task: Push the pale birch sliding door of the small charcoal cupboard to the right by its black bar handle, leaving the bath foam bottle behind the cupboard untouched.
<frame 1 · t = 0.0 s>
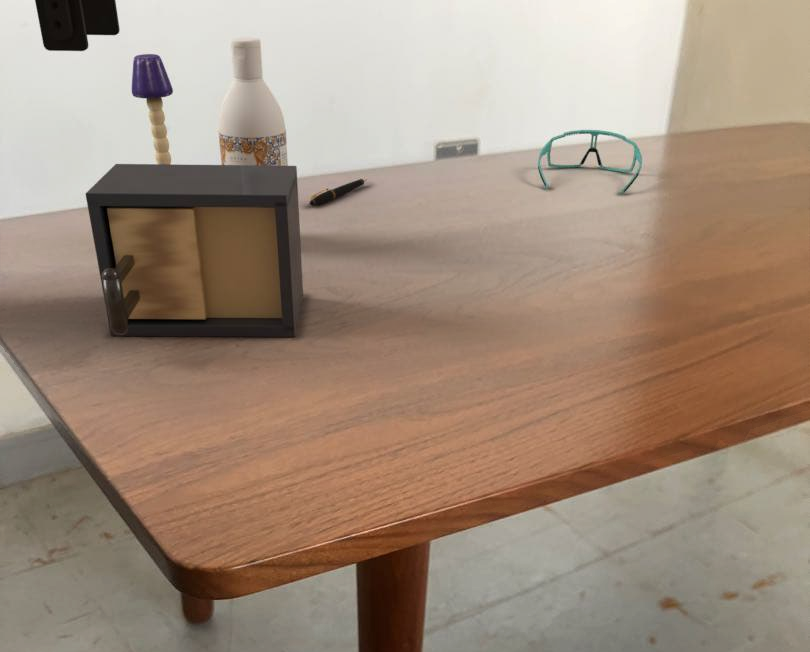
hand: (84, 41, 73), 22 cm above the table, tool pointing down, fingers open, 9 cm apart
cupboard: (211, 315, 84), on the table
sliding door: (150, 277, 75), point 6 cm above the table, slide at 0.0 cm
sunglasses: (587, 180, 128), on the table
toy lamp: (168, 208, 113), on the table
fountain pen: (340, 197, 119), on the table
bath foam: (260, 243, 102), on the table
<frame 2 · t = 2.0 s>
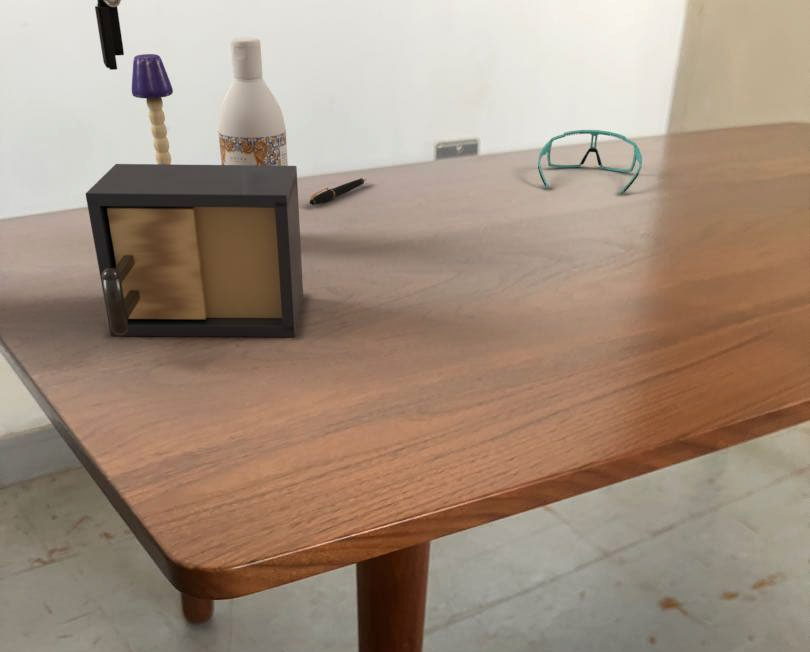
hand: (43, 69, 67), 21 cm above the table, tool pointing down, fingers open, 9 cm apart
nothing on the table moved.
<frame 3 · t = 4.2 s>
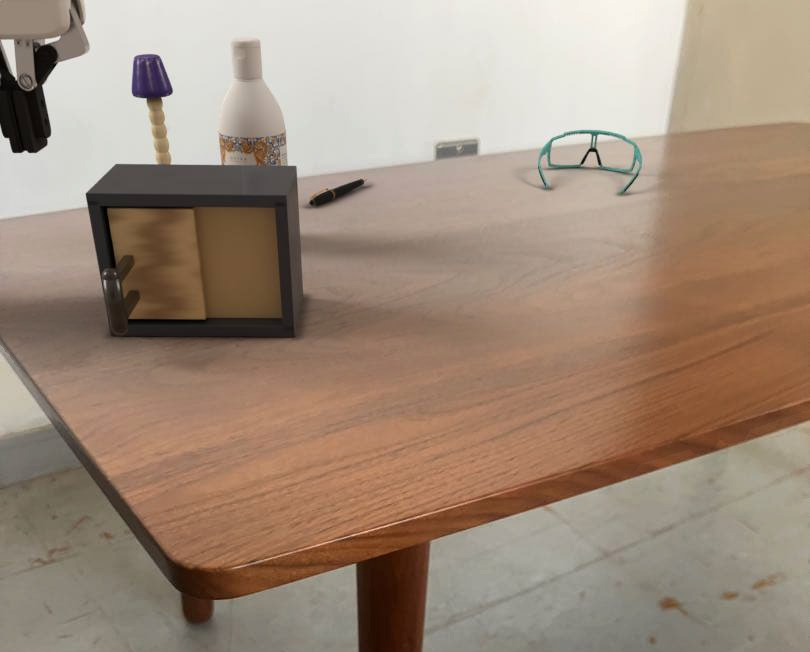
hand: (30, 148, 66), 16 cm above the table, tool pointing down, fingers closed
nothing on the table moved.
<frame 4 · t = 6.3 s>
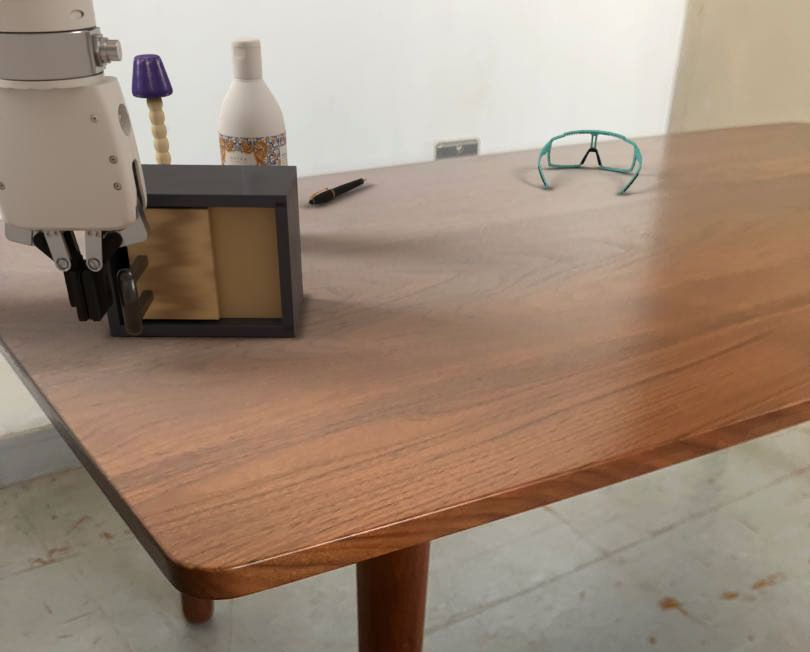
hand: (94, 314, 73), 4 cm above the table, tool pointing down, fingers closed
sliding door: (164, 277, 75), point 6 cm above the table, slide at 1.2 cm, touching gripper
everything else where it was.
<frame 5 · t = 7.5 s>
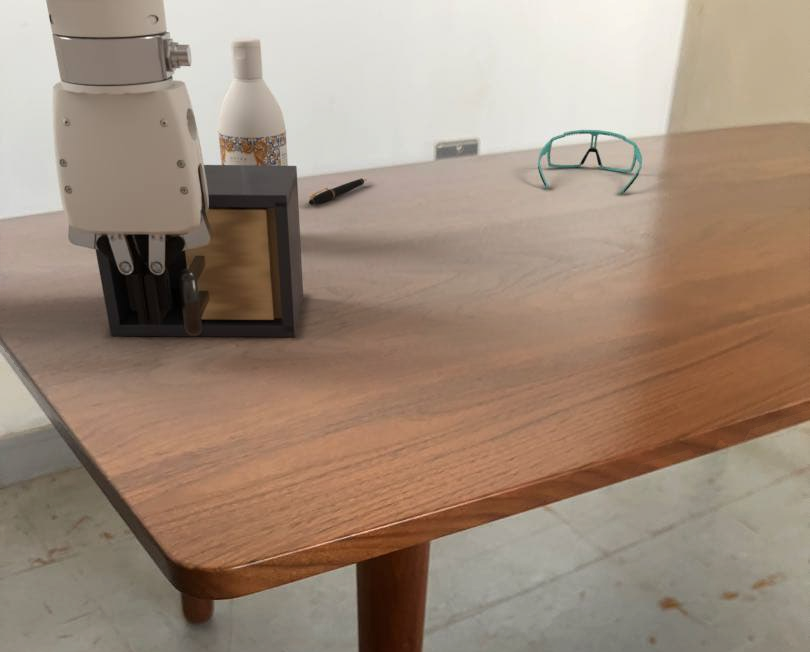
hand: (153, 317, 74), 4 cm above the table, tool pointing down, fingers closed
sliding door: (223, 277, 75), point 6 cm above the table, slide at 5.9 cm, touching gripper
everything else where it was.
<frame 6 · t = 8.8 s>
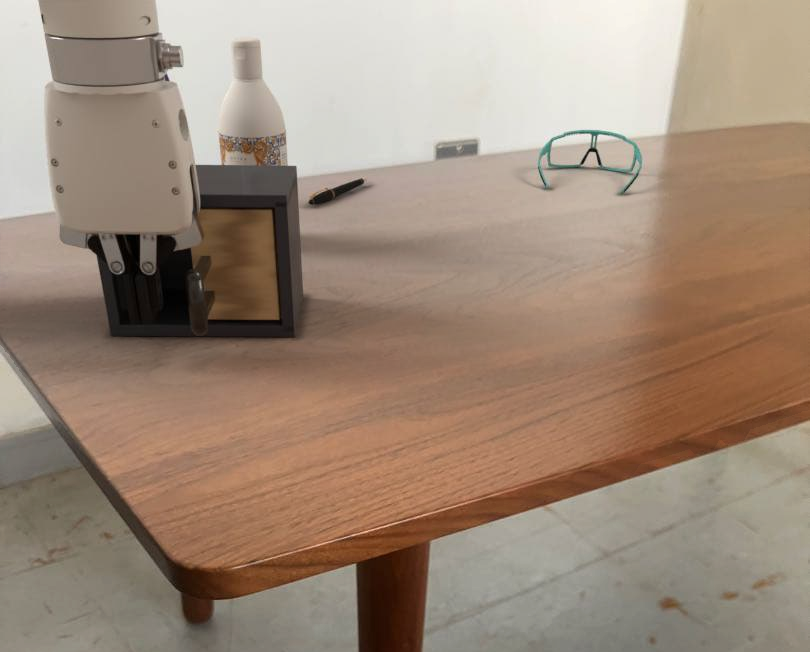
hand: (144, 317, 74), 4 cm above the table, tool pointing down, fingers closed
sliding door: (229, 278, 75), point 6 cm above the table, slide at 6.4 cm
everything else where it was.
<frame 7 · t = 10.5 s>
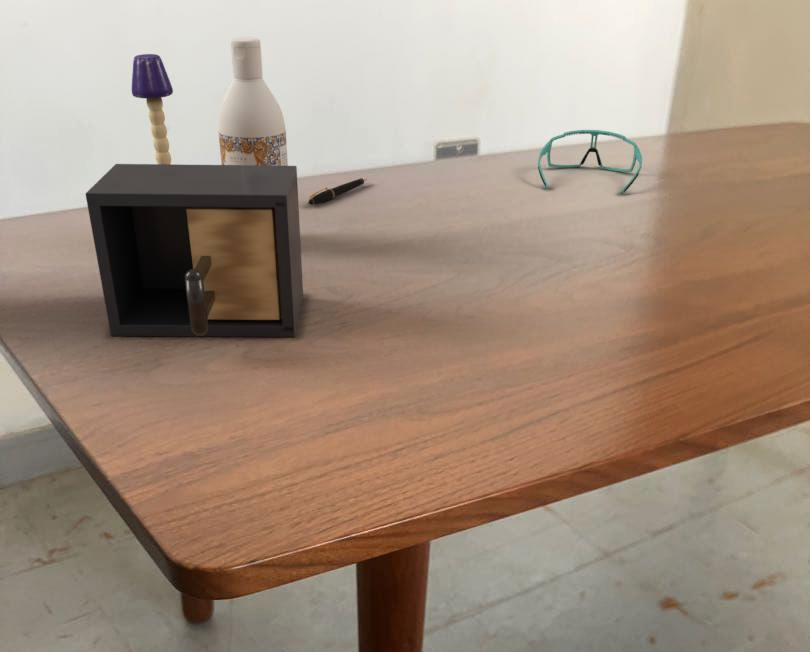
nothing on the table moved.
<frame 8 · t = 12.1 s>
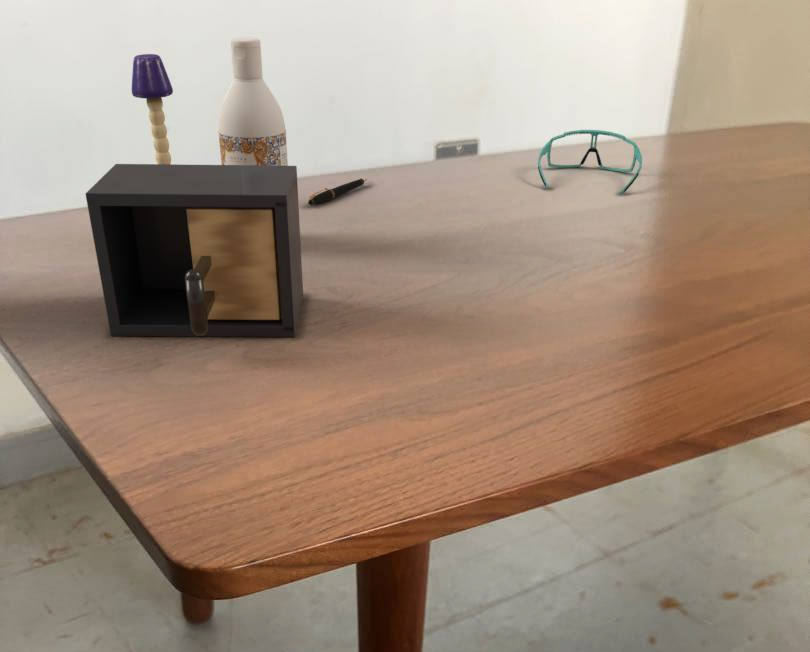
nothing on the table moved.
at the end: sliding door slide at 6.4 cm; bath foam moved 0.2 cm from its start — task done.
